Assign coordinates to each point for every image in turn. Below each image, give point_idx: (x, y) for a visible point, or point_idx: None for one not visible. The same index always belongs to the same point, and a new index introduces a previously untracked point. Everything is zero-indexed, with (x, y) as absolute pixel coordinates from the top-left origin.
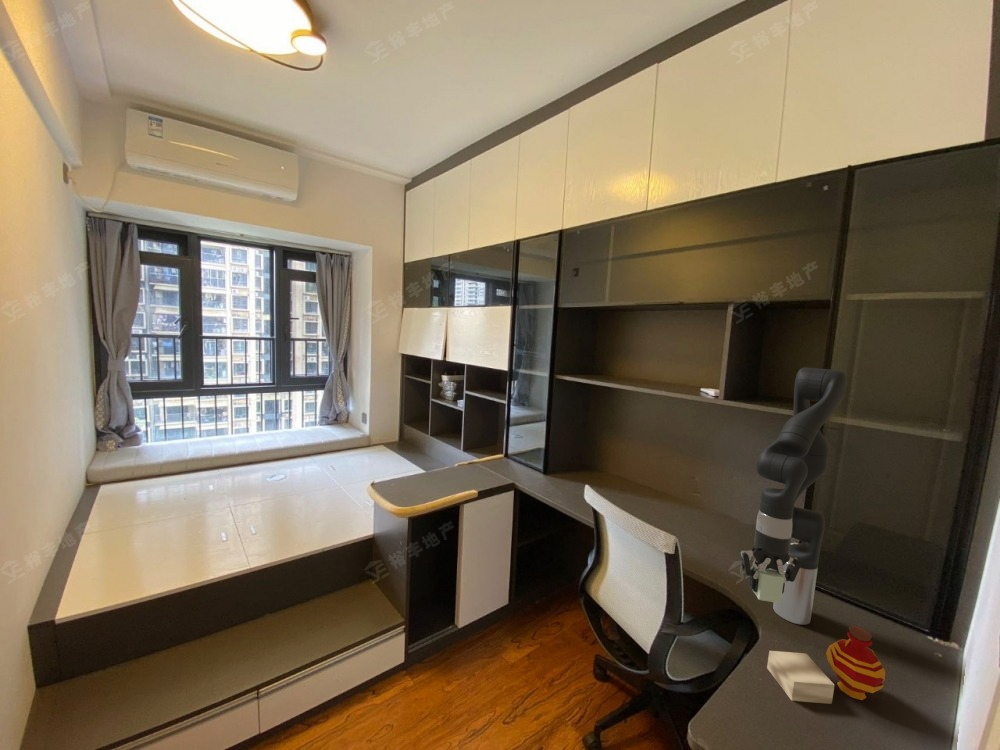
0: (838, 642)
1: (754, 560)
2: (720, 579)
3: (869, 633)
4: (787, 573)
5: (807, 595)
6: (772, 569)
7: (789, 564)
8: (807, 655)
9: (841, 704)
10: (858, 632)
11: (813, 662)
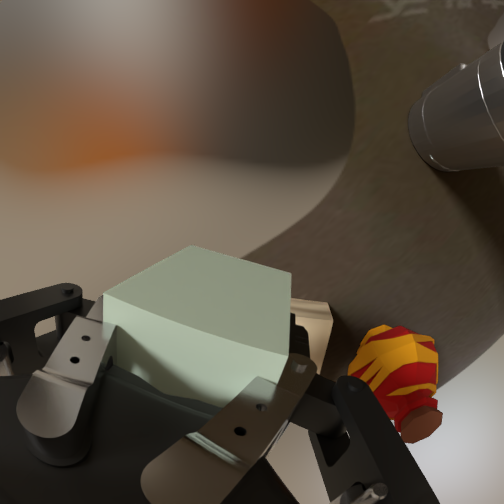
0: (415, 340)
1: (66, 337)
2: (335, 6)
3: (437, 427)
4: (338, 414)
5: (490, 166)
6: (220, 395)
7: (365, 468)
8: (330, 326)
9: (329, 368)
10: (414, 431)
11: (325, 345)
